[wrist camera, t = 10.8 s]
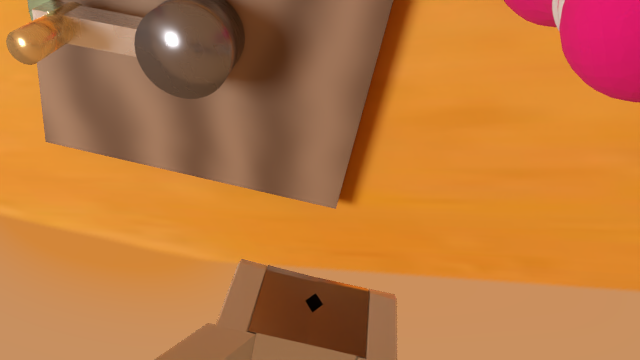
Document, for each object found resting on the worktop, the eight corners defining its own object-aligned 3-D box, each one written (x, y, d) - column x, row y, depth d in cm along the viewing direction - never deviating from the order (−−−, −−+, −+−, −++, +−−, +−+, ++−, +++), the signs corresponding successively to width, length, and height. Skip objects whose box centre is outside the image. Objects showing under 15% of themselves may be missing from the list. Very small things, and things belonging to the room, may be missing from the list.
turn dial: (248, -3, 34) (217, 32, 28) (241, 82, 37) (212, 130, 31) (59, -39, 34) (-13, -12, 28) (69, 49, 37) (7, 91, 31)
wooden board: (426, -127, 31) (428, -124, 29) (337, 198, 44) (335, 213, 42) (21, -225, 30) (-2, -229, 28) (55, 132, 43) (41, 145, 42)
